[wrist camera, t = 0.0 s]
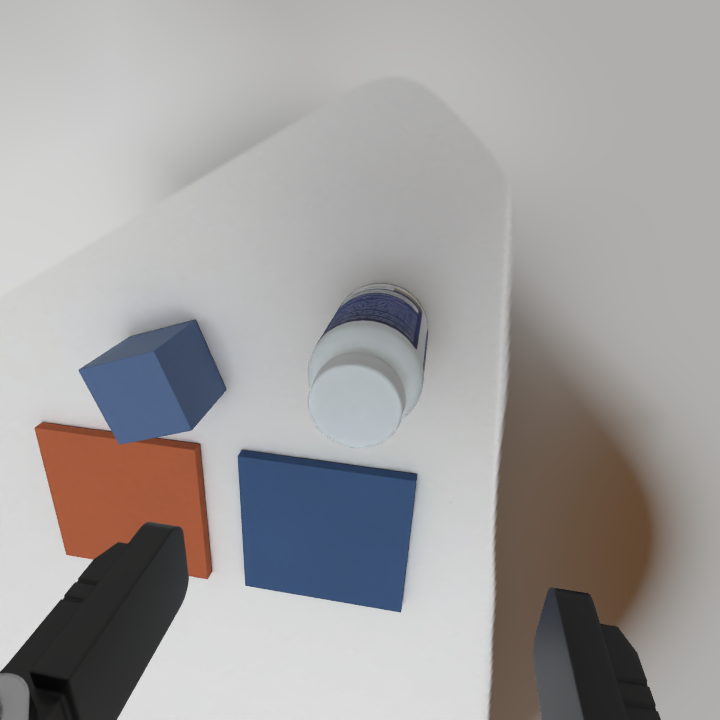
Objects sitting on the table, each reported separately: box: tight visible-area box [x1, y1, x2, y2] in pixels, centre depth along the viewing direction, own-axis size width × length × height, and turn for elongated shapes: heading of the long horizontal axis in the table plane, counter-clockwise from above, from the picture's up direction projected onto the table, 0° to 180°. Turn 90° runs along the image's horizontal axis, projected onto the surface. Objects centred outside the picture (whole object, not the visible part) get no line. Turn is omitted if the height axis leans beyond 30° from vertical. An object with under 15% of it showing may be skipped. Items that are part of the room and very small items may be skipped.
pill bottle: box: [308, 284, 428, 448], centre depth 26 cm, size 5×5×10 cm
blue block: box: [79, 320, 226, 445], centre depth 31 cm, size 5×5×5 cm
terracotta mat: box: [35, 423, 212, 579], centre depth 39 cm, size 12×12×1 cm
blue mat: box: [238, 450, 417, 612], centre depth 37 cm, size 12×12×1 cm
